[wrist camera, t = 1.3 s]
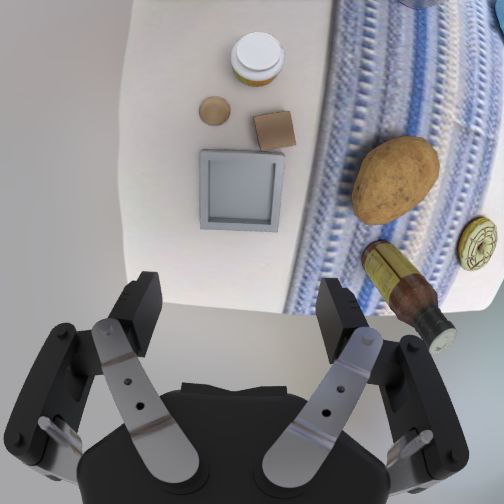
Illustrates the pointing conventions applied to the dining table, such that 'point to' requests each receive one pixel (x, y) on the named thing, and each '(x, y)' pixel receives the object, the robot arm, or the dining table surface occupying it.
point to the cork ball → (214, 111)
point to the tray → (240, 190)
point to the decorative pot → (500, 13)
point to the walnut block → (274, 130)
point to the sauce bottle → (408, 294)
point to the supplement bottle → (257, 58)
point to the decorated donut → (477, 244)
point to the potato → (394, 179)
